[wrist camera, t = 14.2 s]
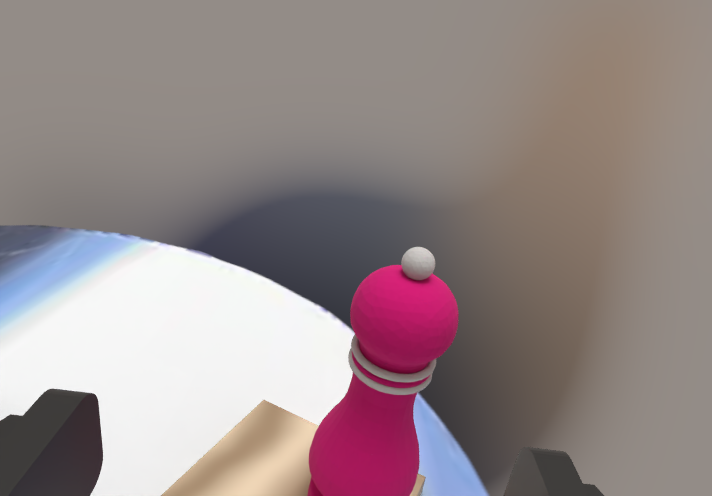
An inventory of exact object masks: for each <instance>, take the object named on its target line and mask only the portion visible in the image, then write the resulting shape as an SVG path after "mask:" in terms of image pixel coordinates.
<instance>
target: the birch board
mask: <svg viewBox="0 0 712 496" xmlns="http://www.w3.org/2000/svg"><path fill="white" fill-rule="evenodd" d="M318 427H319V426H318V425H316V424H313V423H311V422H309V421H307V420H305V419H303V418H301V417H299V416H297V415H295V414H292V413H290V412H288V411H286V410H284V409H282V408H280V407H278V406H276V405H274V404H272V403H269V402H267V401H265V400H263V401H262V402H261V403H260V404H259V405H258V406H257V407H256V408H254V409H253V410H252V411H251V412H250V413H249V414H248V415H247V416H246V417H245V418H244V419H243V420H242V421H241V422H239V423H238V424H237V425H236V426H235V427H234V428H233V429H232V430H231V431H230V432H229V433H228V434H227V435H226V436H224V437H223V438H222V439H221V440H220V441H219V442H218V443H217V444H216V445H215V446H214V447H213V448H212V449H211V450H209V451H208V452H207V453H206V454H205V455H204V456H203V457H202V458H201V459H200V460H199V461H198V462H197V463H196V464H194V465H193V466H192V467H191V468H190V469H189V470H188V471H187V472H186V473H185V474H184V475H183V476H182V477H181V478H179V479H178V480H177V481H176V482H175V483H174V484H173V485H172V486H171V487H170V488H169V489H168V490H167V491H166V492H164V493H163V494H162V495H161V496H307V495H308V489H309V485H310V480H311V473H310V469H309V450H310V447H311V444H312V441H313V438H314V435H315V432H316V430H317V429H318ZM424 481H425V477H424V476H422V475H420V474H417V479H416V483H415V486H414V488H413V491H412V492H411V494H410V496H420V495H421V492H422V489H423V485H424Z"/></svg>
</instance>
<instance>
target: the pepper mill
mask: <svg viewBox="0 0 712 496" xmlns="http://www.w3.org/2000/svg"><path fill="white" fill-rule="evenodd" d="M434 268H435V260H434V257H433V255H432V254H431V252H429V251H428V250H427V249H425V248H421V247H415V248H411V249H410V250H408V251H407V252H406V253H405V254H404V256H403V258H402V265H391V266H388V267H384V268H381V269H378V270H377V271H375V272H373V273H371V274H370V275H369V276H368V277H367V278H365V279H364V280H363V282H362V283H361V284H360V286H359V287H358V289H357V291H356V293H355V295H354V297H353V301H352V305H351V310H350V314H351V325H352V327H353V330H354V332H355V335H354V337H353V339H352V343H351V349H350V352H349V357H348V358H349V364H350V367H351V369H352V371H353V376H352V380H351V383H350V386H349V389H348V392H347V393H346V395H345V397H344V398H343V399H342V400H341V401H340V403H338V404H337V405H336V406H335V407H334V408H333V409H332V410H331V411H330V412H329V413H328V415H327V416H326V417H325V418H324V419H323V420H322V422H321V424H320V425H319V427H318V429H317V430H316V432H315V435H314V438H313V441H312V444H311V447H310V450H309V469H310V473H311V480H310V485H309V489H308V495H307V496H410V494H411V492H412V491H413V488H414V486H415V483H416V479H417V474H418V470H419V444H418V439H417V434H416V430H415V425H414V419H413V405H414V401H415V397H416V394H417V392H419V391H421V390H422V389H424V388H425V387H426V386H427V385H428V384H429V383H430V381H431V378H432V372H433V370H434V368H435V366H436V358H437V357H439V356H441V355H442V354H443V353H444V352H445V351H446V350H447V349H448V347H449V346H450V345H451V344H452V342H453V340H454V337H455V334H456V331H457V327H458V307H457V303H456V300H455V298H454V296H453V294H452V292H451V291H450V289H449V288H448V286H447V285H446V284H445V283H444V282H443V281H442V280H441V279H439V278H438V277H437V276H435V275H433V274H432V273H433V270H434Z"/></svg>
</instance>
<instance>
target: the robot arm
mask: <svg viewBox="0 0 712 496" xmlns="http://www.w3.org/2000/svg"><path fill="white" fill-rule="evenodd" d="M102 461H103V448H102V438H101V427H100V416H99V405H98V399H97V397H96V395H95V394H93V393H85V392H76V391H68V390H60V389H49V390H47V391H46V392H44V393H43V394H42V395H41V396H40V397H39V398H38V400H37V401H36V402H35V403H34V404H33V405H32V406H31V407H30V409H29V410H28V411H27V412H26V413H25V414H24V415H23V416H18V415H9V416H7V417H6V418H4V419H3V420H1V421H0V496H90V494H91V493H92V491H93V489H94V487H95V485H96V483H97V480H98V477H99V474H100V471H101V467H102ZM504 496H604V495H603V494H602V493H601V492H600V491H599V490H598V489H597V487H596V486H595V485H590V484H583V483H582V481H581V479H580V477H579V475H578V473H577V471H576V469H575V467H574V465H573V462H572V460H571V459H570V457H569V456H568V454H567V453H565V452H563V451H556V450H548V449H539V448H530V447H523V448H522V449H521V450H520V452H519V454H518V457H517V459H516V462H515V465H514V468H513V470H512V474H511V476H510V479H509V482H508V485H507V487H506V490H505V493H504Z"/></svg>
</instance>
